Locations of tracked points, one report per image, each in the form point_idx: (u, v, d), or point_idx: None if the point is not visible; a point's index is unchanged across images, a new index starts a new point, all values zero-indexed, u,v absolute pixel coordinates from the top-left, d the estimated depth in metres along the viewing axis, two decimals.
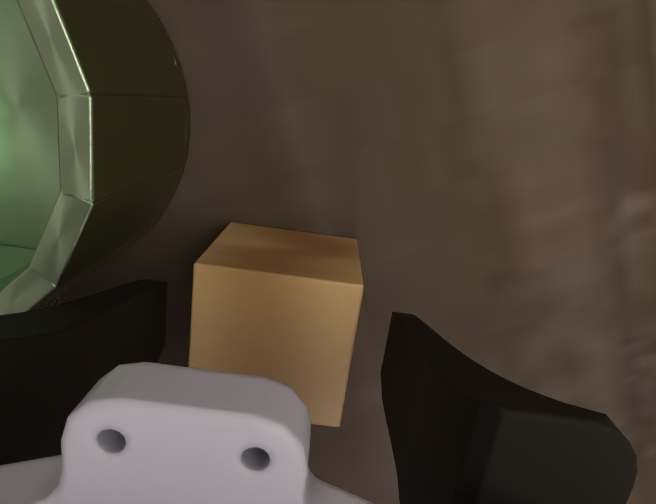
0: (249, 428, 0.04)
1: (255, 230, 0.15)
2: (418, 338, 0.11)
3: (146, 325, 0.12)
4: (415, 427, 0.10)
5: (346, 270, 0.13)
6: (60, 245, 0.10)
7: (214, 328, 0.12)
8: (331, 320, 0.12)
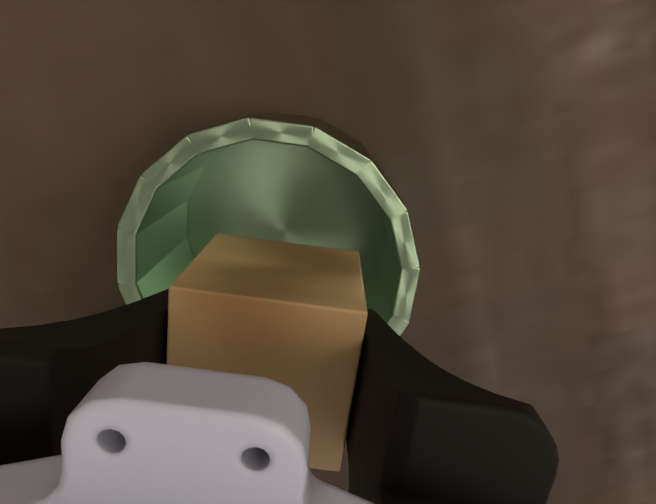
0: (249, 428, 0.04)
1: (244, 242, 0.14)
2: (369, 332, 0.11)
3: None
4: (361, 420, 0.10)
5: (347, 292, 0.11)
6: None
7: (194, 361, 0.11)
8: (330, 352, 0.11)
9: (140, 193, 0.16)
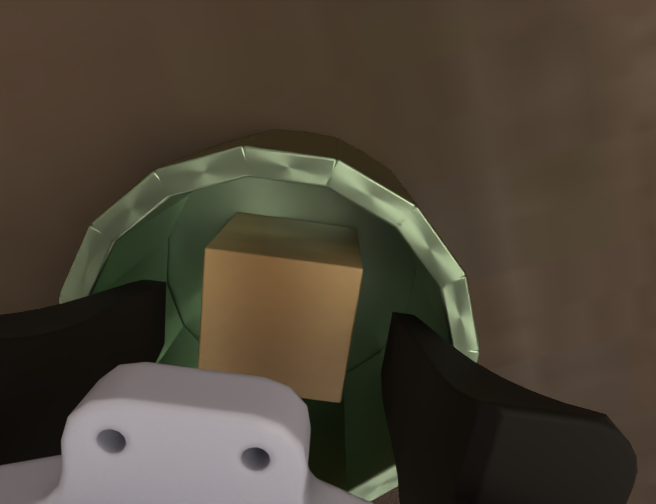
0: (248, 428, 0.04)
1: (260, 219, 0.16)
2: (418, 338, 0.11)
3: (145, 325, 0.12)
4: (415, 427, 0.10)
5: (346, 255, 0.14)
6: None
7: (223, 310, 0.13)
8: (332, 302, 0.13)
9: (90, 250, 0.11)
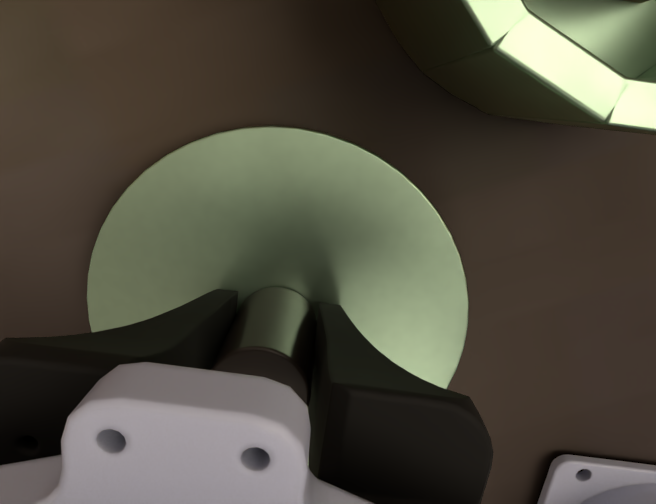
0: (249, 428, 0.04)
1: None
2: (329, 326, 0.11)
3: (224, 335, 0.12)
4: (317, 415, 0.10)
5: None
6: None
7: None
8: None
9: None
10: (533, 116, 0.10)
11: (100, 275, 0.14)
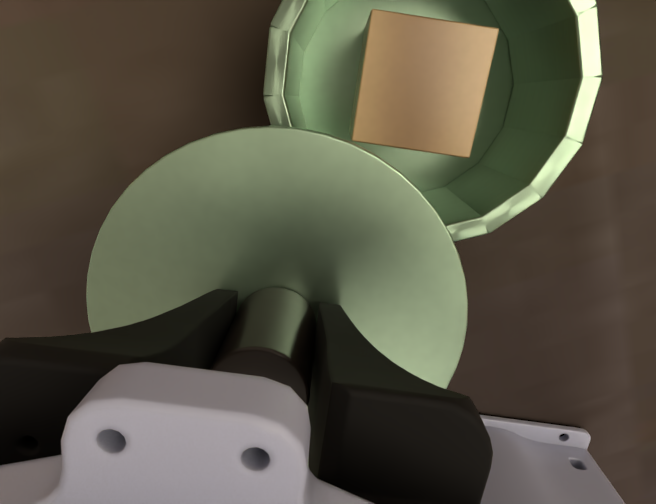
0: (249, 428, 0.04)
1: None
2: (329, 326, 0.11)
3: (224, 335, 0.12)
4: (317, 414, 0.10)
5: None
6: (554, 171, 0.16)
7: (381, 67, 0.16)
8: (472, 59, 0.16)
9: None
10: None
11: (100, 276, 0.14)
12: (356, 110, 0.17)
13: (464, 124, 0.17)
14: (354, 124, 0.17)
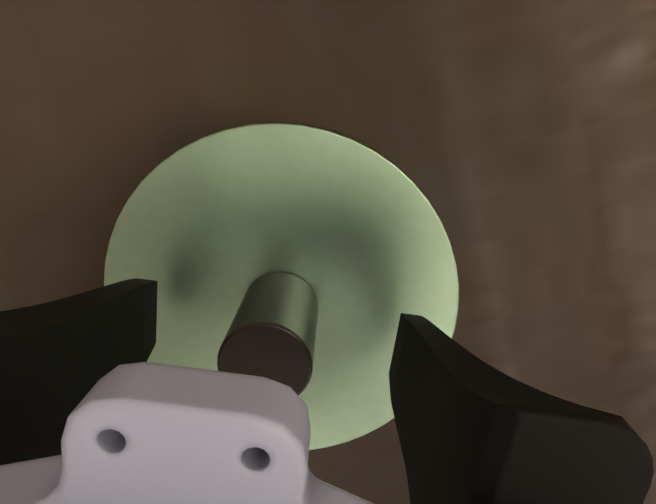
0: (249, 428, 0.04)
1: None
2: (428, 339, 0.11)
3: (136, 324, 0.12)
4: (426, 428, 0.10)
5: None
6: None
7: None
8: None
9: None
10: None
11: (116, 261, 0.15)
12: None
13: None
14: None
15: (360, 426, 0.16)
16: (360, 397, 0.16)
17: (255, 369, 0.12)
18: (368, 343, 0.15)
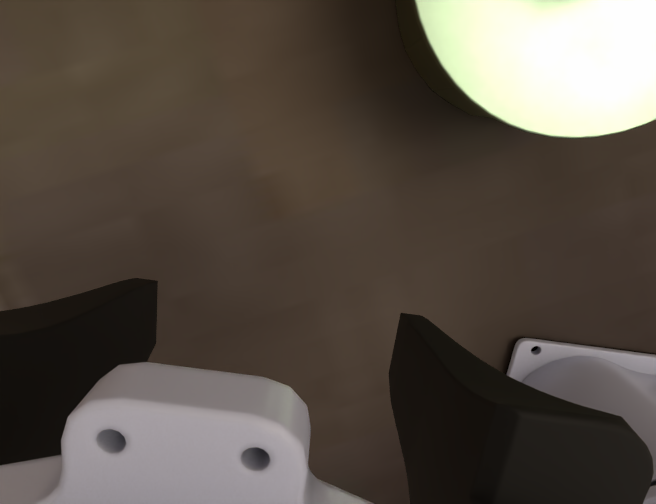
0: (249, 428, 0.04)
1: None
2: (428, 339, 0.11)
3: (136, 324, 0.12)
4: (426, 428, 0.10)
5: None
6: None
7: None
8: None
9: None
10: None
11: None
12: None
13: None
14: None
15: None
16: None
17: None
18: None
